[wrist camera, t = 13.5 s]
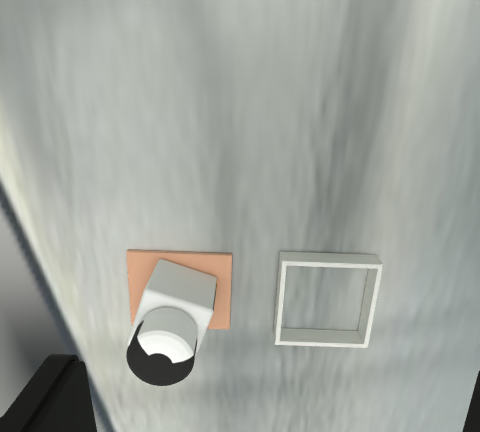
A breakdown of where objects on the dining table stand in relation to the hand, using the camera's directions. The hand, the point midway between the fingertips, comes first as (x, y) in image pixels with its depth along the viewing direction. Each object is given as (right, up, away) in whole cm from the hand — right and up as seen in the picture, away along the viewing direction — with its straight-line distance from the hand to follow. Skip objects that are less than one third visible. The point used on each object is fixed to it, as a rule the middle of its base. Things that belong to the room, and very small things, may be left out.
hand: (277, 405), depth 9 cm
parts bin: (+9, -5, +35) cm, 37 cm away
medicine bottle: (-8, -4, +35) cm, 36 cm away
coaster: (-8, -4, +35) cm, 36 cm away
